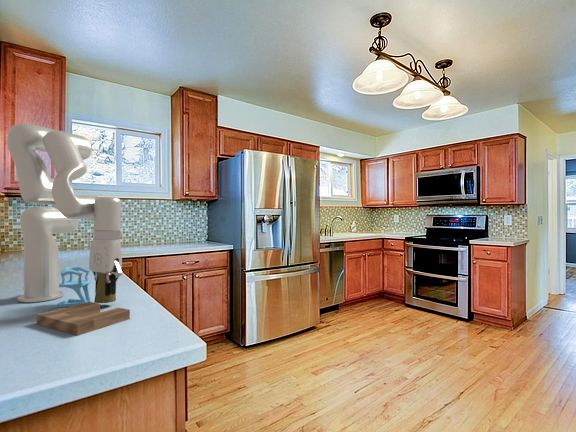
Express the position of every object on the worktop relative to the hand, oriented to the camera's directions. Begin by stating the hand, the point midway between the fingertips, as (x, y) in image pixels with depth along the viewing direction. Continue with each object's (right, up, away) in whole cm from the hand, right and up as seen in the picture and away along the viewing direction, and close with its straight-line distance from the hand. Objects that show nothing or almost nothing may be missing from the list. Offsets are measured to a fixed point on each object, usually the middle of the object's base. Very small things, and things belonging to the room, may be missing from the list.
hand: (105, 293), depth 102 cm
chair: (-11, -4, +2) cm, 12 cm away
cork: (0, -3, 0) cm, 3 cm away
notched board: (+3, -4, -15) cm, 15 cm away
